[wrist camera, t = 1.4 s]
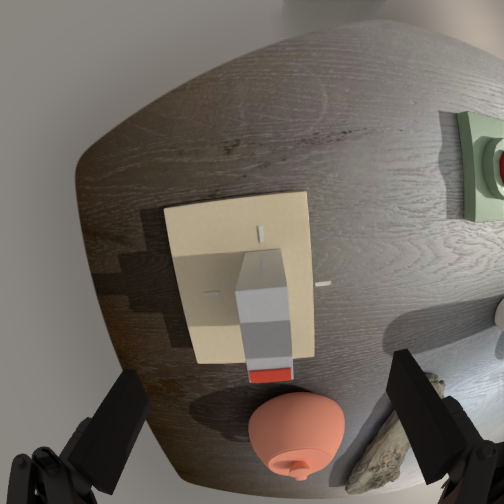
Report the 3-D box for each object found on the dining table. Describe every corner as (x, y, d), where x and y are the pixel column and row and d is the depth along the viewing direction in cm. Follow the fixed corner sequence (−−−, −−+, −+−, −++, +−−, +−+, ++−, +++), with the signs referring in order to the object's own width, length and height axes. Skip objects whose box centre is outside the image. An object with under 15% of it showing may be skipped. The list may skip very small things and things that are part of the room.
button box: (456, 113, 21) (477, 108, 17) (505, 125, 20) (525, 123, 16) (463, 219, 24) (485, 226, 20) (510, 215, 23) (530, 221, 19)
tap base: (174, 204, 25) (162, 208, 22) (319, 187, 24) (326, 189, 21) (203, 347, 30) (197, 364, 27) (325, 338, 28) (330, 355, 25)
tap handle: (245, 252, 23) (233, 292, 15) (281, 248, 23) (288, 288, 15) (254, 324, 25) (249, 385, 17) (287, 322, 25) (293, 382, 17)
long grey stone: (449, 362, 31) (397, 366, 31) (465, 381, 25) (410, 389, 26) (376, 483, 38) (334, 487, 39) (380, 500, 33) (336, 506, 34)
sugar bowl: (341, 374, 30) (361, 437, 20) (337, 436, 33) (348, 488, 24) (242, 386, 31) (233, 452, 21) (258, 445, 35) (255, 499, 25)
